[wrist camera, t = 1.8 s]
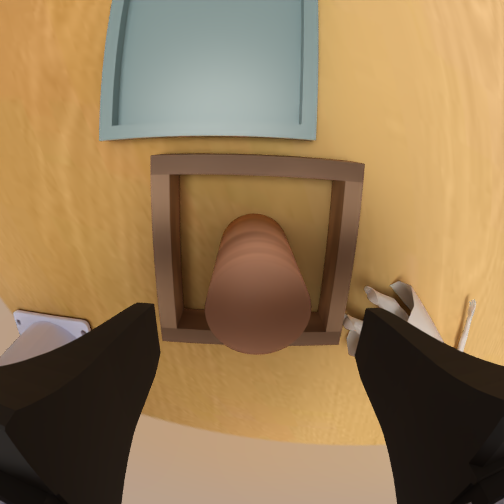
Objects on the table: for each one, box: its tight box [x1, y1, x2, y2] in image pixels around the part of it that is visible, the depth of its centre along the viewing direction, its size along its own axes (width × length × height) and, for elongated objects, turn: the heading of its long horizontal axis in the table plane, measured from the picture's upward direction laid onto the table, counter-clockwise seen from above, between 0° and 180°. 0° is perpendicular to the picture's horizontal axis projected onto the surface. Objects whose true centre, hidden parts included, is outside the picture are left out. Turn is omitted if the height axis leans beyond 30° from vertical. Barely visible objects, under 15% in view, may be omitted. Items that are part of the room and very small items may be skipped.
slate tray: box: [99, 0, 318, 141], centre depth 14 cm, size 14×12×2 cm
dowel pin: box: [205, 214, 311, 354], centre depth 15 cm, size 4×4×8 cm
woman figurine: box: [343, 281, 476, 357], centre depth 21 cm, size 12×4×18 cm
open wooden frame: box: [151, 153, 365, 346], centre depth 18 cm, size 11×11×2 cm
